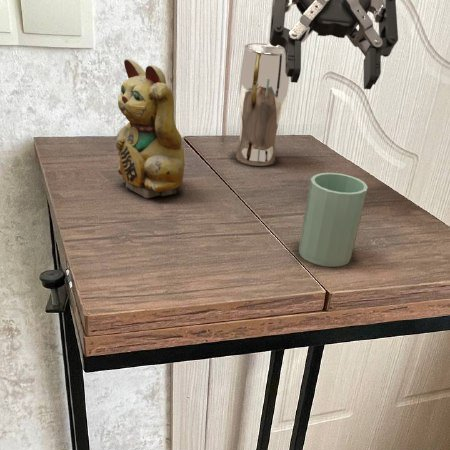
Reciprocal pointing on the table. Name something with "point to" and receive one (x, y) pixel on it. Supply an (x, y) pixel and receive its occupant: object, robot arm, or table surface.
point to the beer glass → (261, 102)
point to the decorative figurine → (149, 134)
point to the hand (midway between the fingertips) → (333, 81)
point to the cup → (332, 218)
